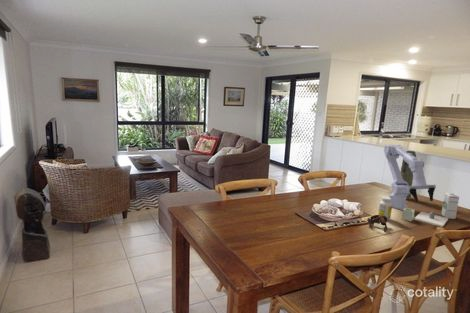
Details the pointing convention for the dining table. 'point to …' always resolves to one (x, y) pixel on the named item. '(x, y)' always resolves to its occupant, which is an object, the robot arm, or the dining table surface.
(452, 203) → the syrup box
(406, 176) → the thermos
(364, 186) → the dining table surface
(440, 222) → the board
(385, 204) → the supplement bottle
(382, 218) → the brown animal figurine
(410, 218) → the collar
